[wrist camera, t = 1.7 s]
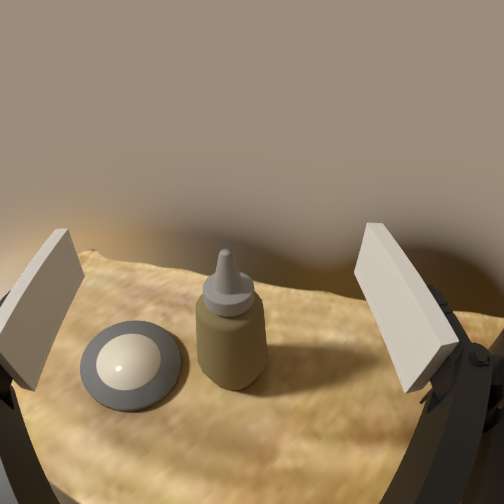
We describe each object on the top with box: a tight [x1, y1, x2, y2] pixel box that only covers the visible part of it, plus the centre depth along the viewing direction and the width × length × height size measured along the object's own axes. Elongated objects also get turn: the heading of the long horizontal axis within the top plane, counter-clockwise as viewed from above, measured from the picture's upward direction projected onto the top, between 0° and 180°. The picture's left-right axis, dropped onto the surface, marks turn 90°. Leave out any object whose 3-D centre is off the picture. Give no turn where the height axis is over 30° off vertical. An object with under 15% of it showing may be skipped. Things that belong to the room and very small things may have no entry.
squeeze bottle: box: [196, 249, 268, 390], centre depth 30 cm, size 8×8×18 cm
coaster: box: [80, 321, 181, 412], centre depth 34 cm, size 14×14×1 cm
